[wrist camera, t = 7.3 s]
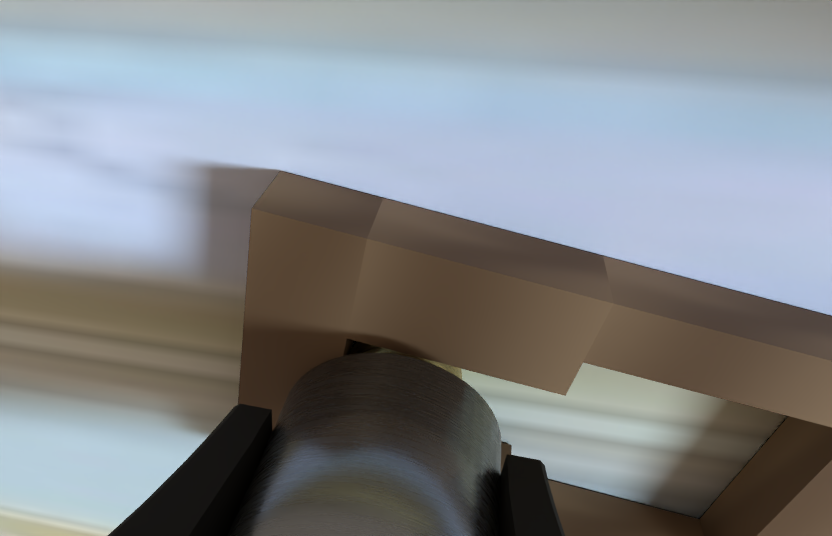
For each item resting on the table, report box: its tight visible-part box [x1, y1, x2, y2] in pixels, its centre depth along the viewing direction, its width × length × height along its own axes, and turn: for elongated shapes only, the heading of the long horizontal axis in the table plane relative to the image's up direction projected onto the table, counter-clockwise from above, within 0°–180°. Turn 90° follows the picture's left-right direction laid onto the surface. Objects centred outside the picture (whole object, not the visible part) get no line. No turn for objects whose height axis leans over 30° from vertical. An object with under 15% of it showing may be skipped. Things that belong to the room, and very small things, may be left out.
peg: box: [228, 342, 501, 536], centre depth 11 cm, size 4×4×7 cm
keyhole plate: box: [238, 171, 832, 536], centre depth 13 cm, size 13×8×2 cm, turn 78°
